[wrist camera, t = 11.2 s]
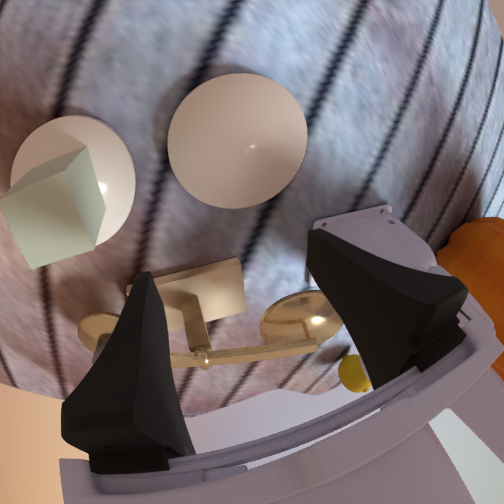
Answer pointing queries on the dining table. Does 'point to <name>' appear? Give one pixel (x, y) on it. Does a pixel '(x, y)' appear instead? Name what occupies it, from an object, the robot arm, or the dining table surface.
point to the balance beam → (272, 332)
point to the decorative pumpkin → (480, 269)
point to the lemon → (353, 374)
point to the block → (55, 209)
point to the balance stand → (201, 298)
